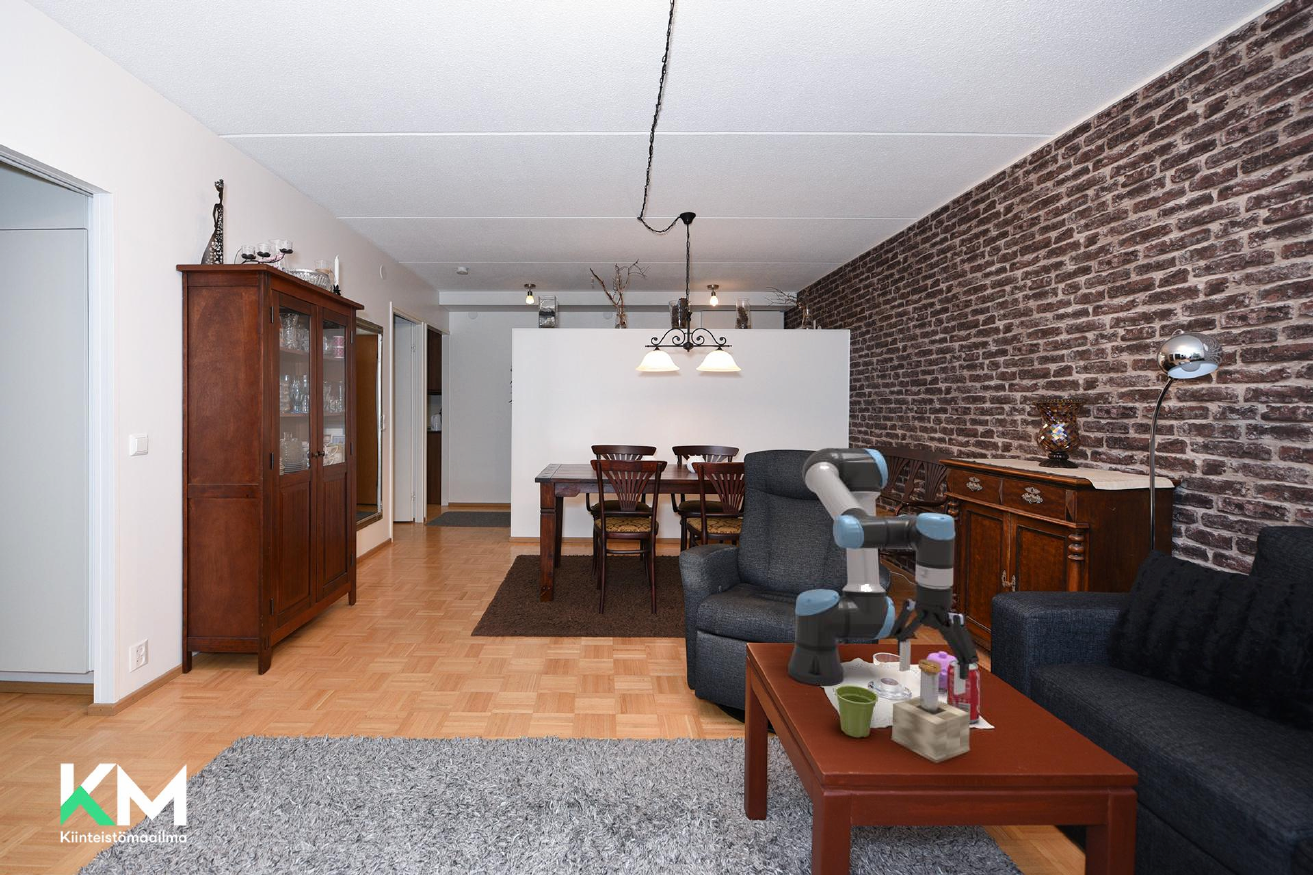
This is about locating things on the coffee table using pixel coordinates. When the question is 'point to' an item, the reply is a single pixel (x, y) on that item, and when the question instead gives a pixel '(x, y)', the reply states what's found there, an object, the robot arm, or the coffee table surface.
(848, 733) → the plant pot
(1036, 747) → the coffee table surface
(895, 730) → the hollow square tube
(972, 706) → the soda can
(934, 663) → the gold capped peg
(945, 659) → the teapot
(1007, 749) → the coffee table surface
